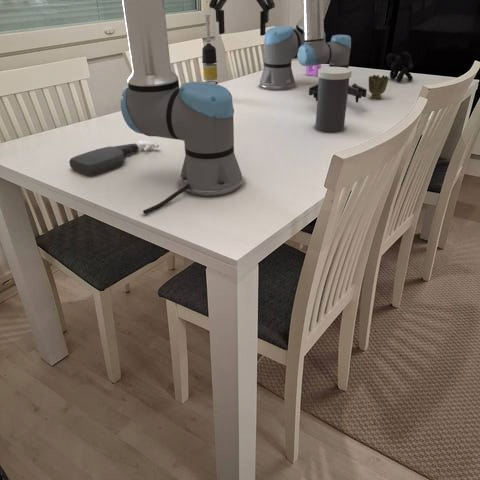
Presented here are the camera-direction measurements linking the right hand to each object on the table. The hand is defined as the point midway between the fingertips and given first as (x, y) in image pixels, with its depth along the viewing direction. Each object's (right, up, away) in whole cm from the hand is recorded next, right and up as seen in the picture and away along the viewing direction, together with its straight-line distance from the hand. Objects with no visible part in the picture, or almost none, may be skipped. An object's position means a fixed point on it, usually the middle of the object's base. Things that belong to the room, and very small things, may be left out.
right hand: (337, 97), depth 153 cm
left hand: (-33, +15, -16) cm, 39 cm away
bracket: (+4, +32, +63) cm, 71 cm away
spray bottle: (-68, -26, -29) cm, 78 cm away
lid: (-5, +3, -18) cm, 18 cm away
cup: (+20, +7, +22) cm, 30 cm away
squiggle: (+39, +23, +47) cm, 65 cm away
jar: (-4, -12, -8) cm, 16 cm away
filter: (-45, +8, +25) cm, 52 cm away
